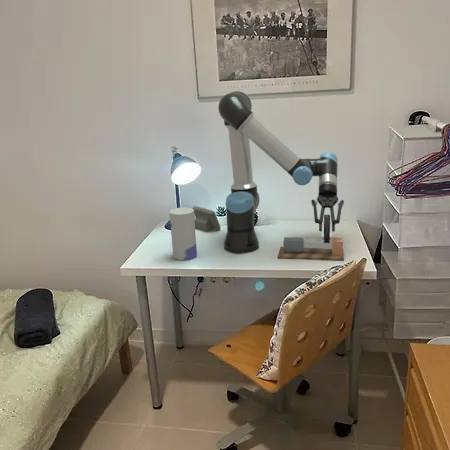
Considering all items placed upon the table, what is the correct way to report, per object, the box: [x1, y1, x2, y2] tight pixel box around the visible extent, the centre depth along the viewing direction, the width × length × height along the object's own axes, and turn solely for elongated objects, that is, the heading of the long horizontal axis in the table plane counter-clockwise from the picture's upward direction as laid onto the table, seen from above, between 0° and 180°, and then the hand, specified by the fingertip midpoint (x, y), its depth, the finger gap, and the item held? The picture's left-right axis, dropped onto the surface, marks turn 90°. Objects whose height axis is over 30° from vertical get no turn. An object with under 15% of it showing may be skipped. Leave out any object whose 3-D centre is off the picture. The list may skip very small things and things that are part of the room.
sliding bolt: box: [303, 214, 332, 249], centre depth 203 cm, size 17×2×14 cm, turn 78°
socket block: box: [331, 236, 344, 256], centre depth 203 cm, size 4×5×6 cm
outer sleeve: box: [282, 236, 305, 254], centre depth 207 cm, size 8×4×6 cm, turn 78°
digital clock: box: [192, 205, 221, 233], centre depth 243 cm, size 16×9×11 cm, turn 29°
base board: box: [277, 246, 345, 262], centre depth 206 cm, size 26×11×1 cm, turn 78°
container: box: [169, 206, 198, 261], centre depth 209 cm, size 10×10×20 cm
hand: (326, 238), depth 199 cm, fingers closed on sliding bolt, 2 cm apart
